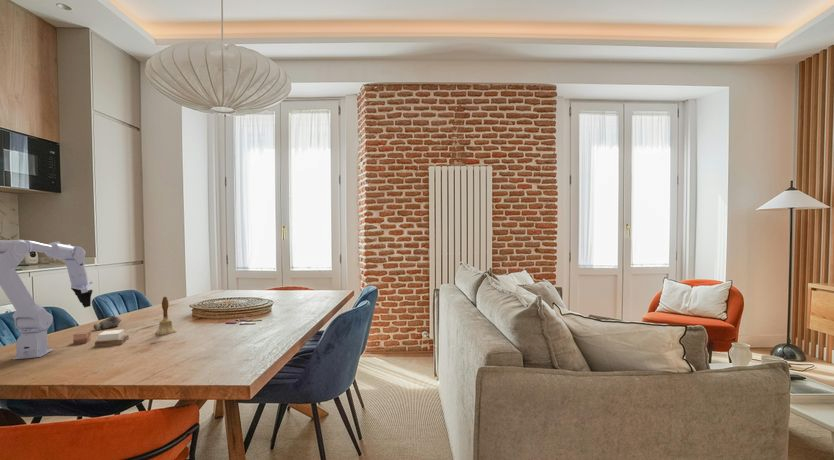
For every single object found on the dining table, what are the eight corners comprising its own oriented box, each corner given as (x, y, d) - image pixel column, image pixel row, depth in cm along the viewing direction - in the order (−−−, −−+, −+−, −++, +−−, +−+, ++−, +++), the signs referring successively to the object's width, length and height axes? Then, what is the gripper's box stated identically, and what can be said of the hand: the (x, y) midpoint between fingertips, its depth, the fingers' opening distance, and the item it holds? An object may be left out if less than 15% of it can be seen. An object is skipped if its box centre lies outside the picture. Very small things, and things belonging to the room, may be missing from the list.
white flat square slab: (118, 339, 168) (118, 333, 168) (97, 341, 166) (97, 335, 166) (124, 335, 175) (123, 329, 175) (104, 337, 172) (103, 331, 172)
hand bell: (174, 333, 184) (174, 297, 184) (152, 335, 181) (152, 298, 181) (177, 329, 192) (177, 294, 192) (156, 331, 189) (156, 296, 189)
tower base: (122, 346, 168) (121, 339, 168) (94, 348, 164) (94, 342, 164) (128, 340, 176) (128, 334, 176) (102, 342, 173) (102, 336, 173)
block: (86, 343, 170) (86, 333, 170) (73, 344, 169) (73, 334, 169) (90, 340, 175) (90, 331, 175) (77, 341, 173) (77, 332, 173)
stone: (94, 333, 190) (109, 321, 191) (88, 324, 192) (103, 312, 193) (111, 333, 200) (125, 322, 201) (106, 325, 201) (119, 313, 202)
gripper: (93, 275, 172) (100, 305, 175) (86, 267, 181) (93, 296, 185) (71, 280, 167) (79, 311, 170) (65, 272, 176) (73, 302, 180)
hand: (85, 304), depth 177 cm, fingers open, 7 cm apart
